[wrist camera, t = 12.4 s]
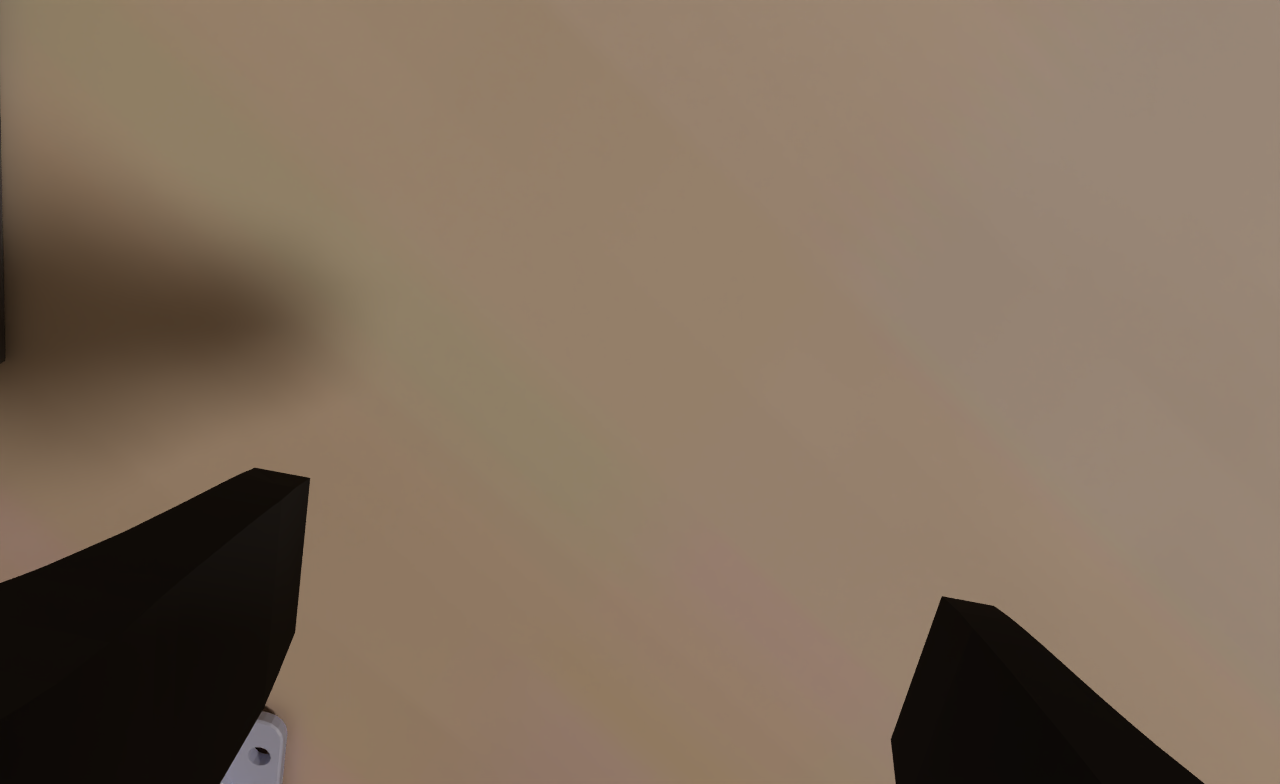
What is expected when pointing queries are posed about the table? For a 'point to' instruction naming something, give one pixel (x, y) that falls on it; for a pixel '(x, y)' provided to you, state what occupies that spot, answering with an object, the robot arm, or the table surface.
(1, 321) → the shelf
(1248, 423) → the table surface
